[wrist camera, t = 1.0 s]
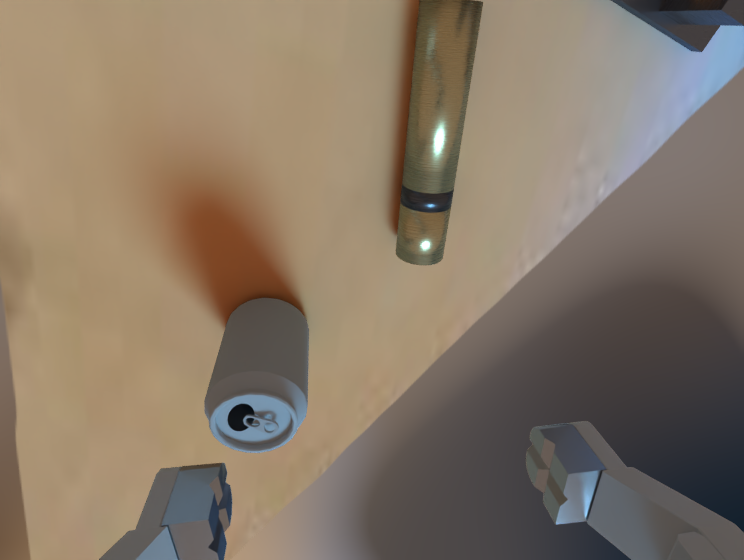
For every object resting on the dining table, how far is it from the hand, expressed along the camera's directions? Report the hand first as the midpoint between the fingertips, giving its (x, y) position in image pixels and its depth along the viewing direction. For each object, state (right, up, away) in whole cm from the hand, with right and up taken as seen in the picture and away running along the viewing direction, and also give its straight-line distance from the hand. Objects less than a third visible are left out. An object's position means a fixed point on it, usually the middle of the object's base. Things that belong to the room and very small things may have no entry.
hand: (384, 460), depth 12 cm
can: (-10, +1, +30) cm, 32 cm away
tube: (+4, +16, +22) cm, 28 cm away
